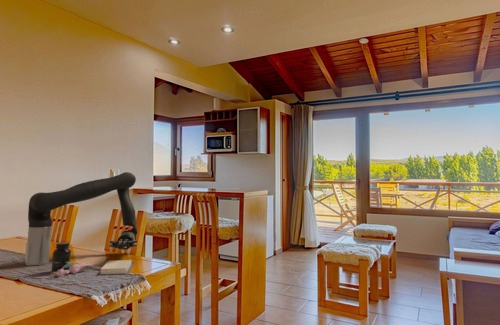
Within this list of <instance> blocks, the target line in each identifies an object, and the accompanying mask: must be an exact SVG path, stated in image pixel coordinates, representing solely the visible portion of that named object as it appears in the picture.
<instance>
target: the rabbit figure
mask: <svg viewBox="0 0 500 325" xmlns="http://www.w3.org/2000/svg"><path fill="white" fill-rule="evenodd" d="M66 263H67V264H66V265H65V266H63V268H62V269H60V270H58V271H57V272H53V273H52V272H51V273H50V277H51V278H53V279H54V278H55V277H57V278H60V277H61V276H64V275H68V274H69V273H70V274H77V273H79V272H81V270H82V269H83V268H85V267H91V266H92V264H90V263H88V262H86V263H85V262H82V263H80V264H79V263H74V264H72V265H71V261H70V262H66ZM69 265H70V269H69V270H64V268H66V267H69ZM54 276H55V277H54Z"/></svg>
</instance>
